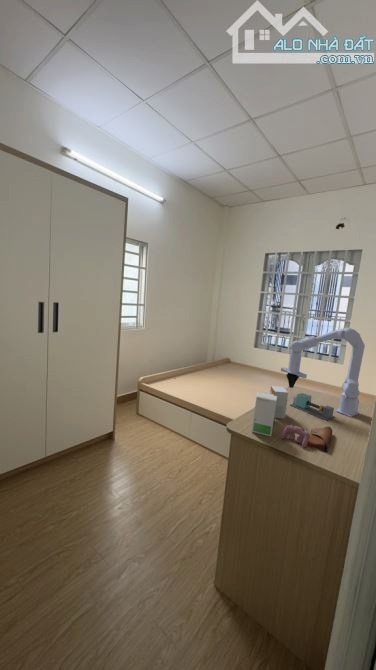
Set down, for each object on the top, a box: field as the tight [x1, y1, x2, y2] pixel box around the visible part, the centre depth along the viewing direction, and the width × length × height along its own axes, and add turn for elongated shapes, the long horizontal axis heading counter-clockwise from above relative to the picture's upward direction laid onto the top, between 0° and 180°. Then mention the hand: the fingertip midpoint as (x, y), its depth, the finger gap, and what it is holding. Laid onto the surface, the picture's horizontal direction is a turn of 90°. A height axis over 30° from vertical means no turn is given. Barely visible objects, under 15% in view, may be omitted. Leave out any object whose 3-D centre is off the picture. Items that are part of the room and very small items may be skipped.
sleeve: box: [296, 392, 312, 409], centre depth 146 cm, size 6×5×6 cm
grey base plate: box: [289, 403, 336, 421], centre depth 142 cm, size 8×20×1 cm, turn 36°
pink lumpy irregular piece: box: [280, 424, 310, 449], centre depth 110 cm, size 10×5×7 cm, turn 46°
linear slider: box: [292, 395, 335, 420], centre depth 142 cm, size 4×20×5 cm, turn 35°
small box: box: [269, 385, 289, 419], centre depth 134 cm, size 8×6×13 cm
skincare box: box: [251, 391, 277, 438], centre depth 116 cm, size 8×7×16 cm
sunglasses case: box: [306, 426, 333, 453], centre depth 113 cm, size 18×7×7 cm
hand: (291, 387), depth 152 cm, fingers closed
